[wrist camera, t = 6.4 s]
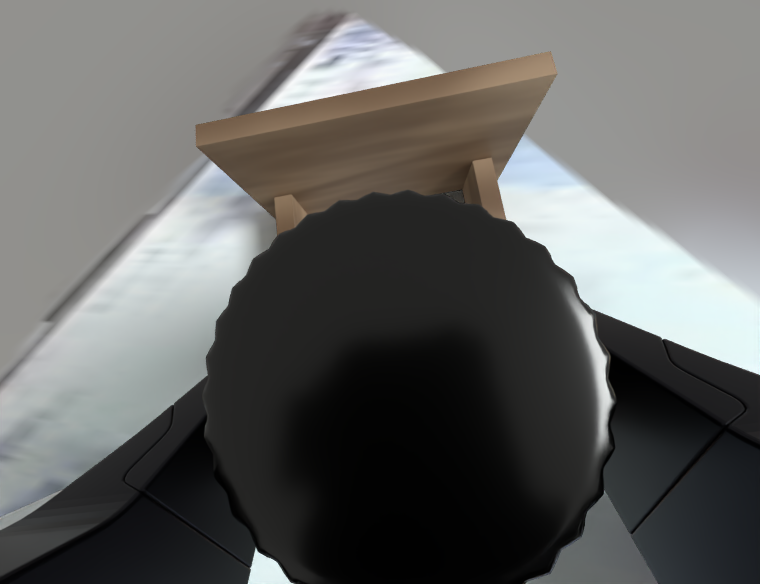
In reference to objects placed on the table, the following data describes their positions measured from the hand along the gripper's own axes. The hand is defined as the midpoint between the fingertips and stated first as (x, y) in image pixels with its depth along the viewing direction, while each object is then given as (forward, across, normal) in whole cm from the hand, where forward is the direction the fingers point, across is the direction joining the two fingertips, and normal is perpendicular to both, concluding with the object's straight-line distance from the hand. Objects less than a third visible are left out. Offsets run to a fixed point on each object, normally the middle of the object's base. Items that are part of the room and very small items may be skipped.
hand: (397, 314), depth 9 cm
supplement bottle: (+4, 0, +6) cm, 7 cm away
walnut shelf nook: (+14, 0, +3) cm, 14 cm away
